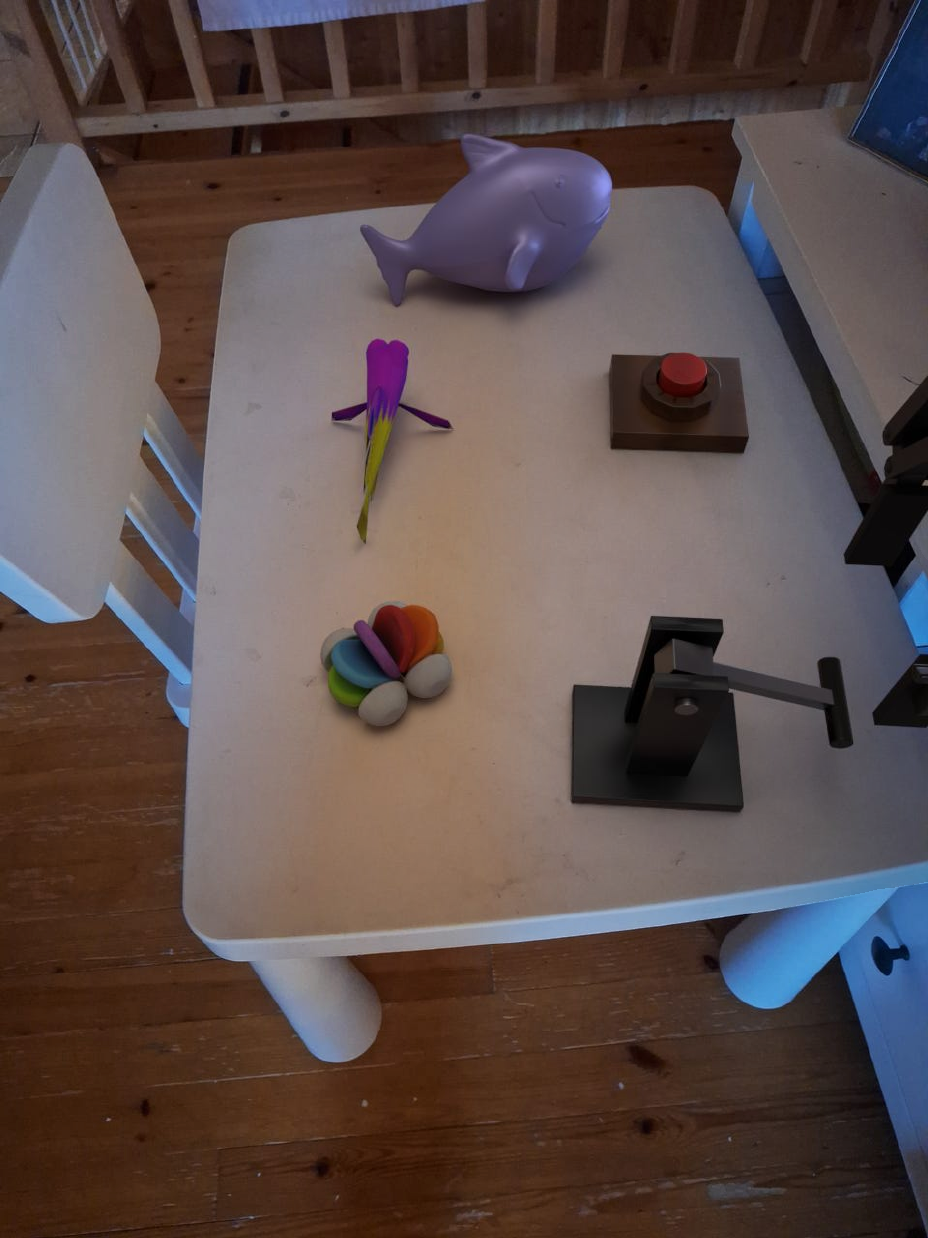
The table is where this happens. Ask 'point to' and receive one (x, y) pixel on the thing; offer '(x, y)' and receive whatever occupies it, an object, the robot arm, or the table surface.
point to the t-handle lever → (768, 684)
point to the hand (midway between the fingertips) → (882, 635)
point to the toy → (382, 410)
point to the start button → (682, 375)
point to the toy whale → (503, 220)
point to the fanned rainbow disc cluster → (386, 661)
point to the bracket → (659, 732)
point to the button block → (676, 408)
